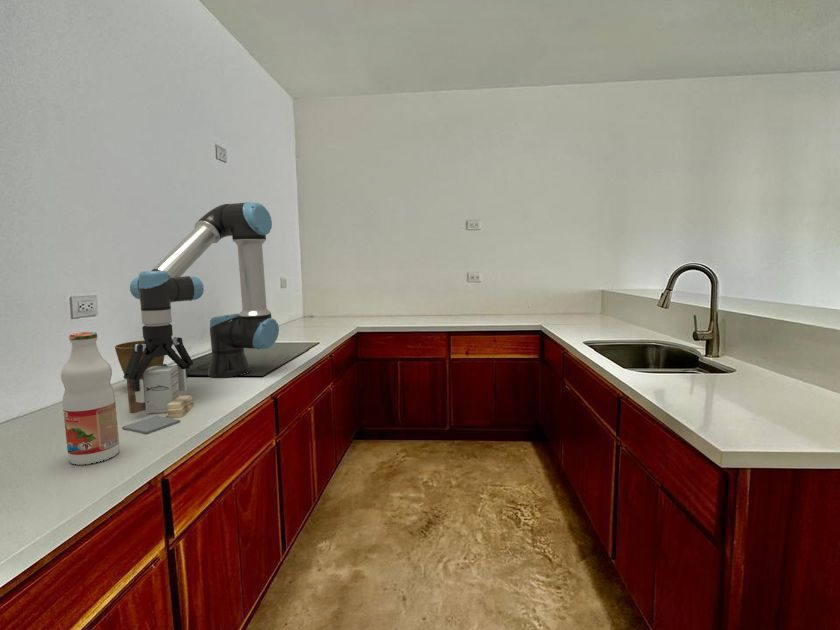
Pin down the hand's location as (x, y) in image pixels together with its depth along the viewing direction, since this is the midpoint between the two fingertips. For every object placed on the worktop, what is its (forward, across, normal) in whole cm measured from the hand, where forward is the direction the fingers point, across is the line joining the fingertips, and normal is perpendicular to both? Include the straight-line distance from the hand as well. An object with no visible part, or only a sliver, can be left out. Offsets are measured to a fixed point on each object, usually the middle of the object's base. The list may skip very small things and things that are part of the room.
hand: (162, 395), depth 135 cm
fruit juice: (+4, +29, +16) cm, 34 cm away
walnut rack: (+4, 0, -6) cm, 7 cm away
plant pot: (+4, -13, -28) cm, 31 cm away
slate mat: (+4, +10, +10) cm, 15 cm away
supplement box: (+4, 0, 0) cm, 4 cm away
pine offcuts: (+5, 0, +7) cm, 8 cm away
